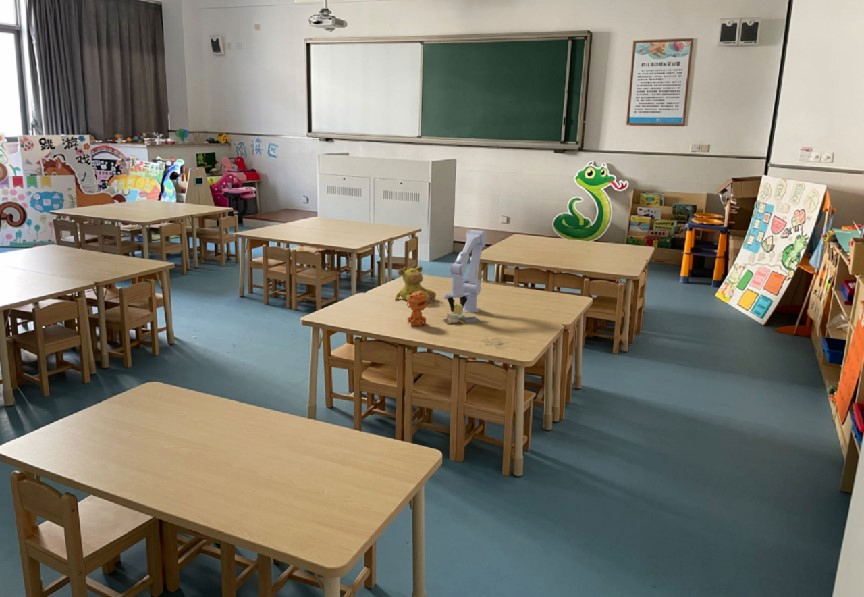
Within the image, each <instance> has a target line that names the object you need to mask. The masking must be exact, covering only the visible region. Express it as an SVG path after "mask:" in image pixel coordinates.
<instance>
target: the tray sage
mask: <svg viewBox="0 0 864 597" xmlns="http://www.w3.org/2000/svg"><path fill="white" fill-rule="evenodd" d="M463 317H466V315H465V316H464V315H463V313H462V314H458V320H462V318H463Z"/></svg>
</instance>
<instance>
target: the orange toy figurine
mask: <svg viewBox="0 0 864 597" xmlns="http://www.w3.org/2000/svg"><path fill="white" fill-rule="evenodd" d="M421 291H422V290H421ZM421 291H418V292H414V293H412V295H410V296H409V297H408V299H407V300H406V306H407V307H408V309H410V310H411V315H410V316H408V317H407V325H408V324H410V325H411V326H412V325H413V326H412V327H415V326H417V327H421V325H422V326H423V325H426V324H427V317H426V316H423V312H422V311H424V310H425V309H426V308H427V306H428V302H429V301H425V300H426V299H427V296H426V294H424V293H423V292H421ZM408 300H409V301H408ZM429 303H430V302H429Z"/></svg>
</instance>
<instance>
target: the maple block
mask: <svg viewBox="0 0 864 597" xmlns="http://www.w3.org/2000/svg"><path fill="white" fill-rule="evenodd" d="M446 319H447V322H448V323H455V322H458V320H459V319H458V314H457V313H456V312H451V311H449V312H446Z"/></svg>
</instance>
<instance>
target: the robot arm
mask: <svg viewBox="0 0 864 597" xmlns="http://www.w3.org/2000/svg"><path fill="white" fill-rule="evenodd" d="M487 237H488V236H487V233H486V231H485V230H477V229H470V228H469V229H467V231H466V233H465V241H466V242H465V244H464V247H463V248H462V251H460V252H458V255H457V257H456V259H455V262H454V263H452V264H451V265H450V268H449V271H450V276H451V293H445V294H443V299H444V300H447V301H448V304H449V307H450V312H451V311H452V312H454V304H455V299H458V298H459V303H460V304H461V305H462V306H463V308H462V312H464V313H476V312H480V309H478V306H477V305H478V295H479V294H480V293H481V289H482V282H481V280H480V278H478V273H479V268H480V262H481V259H482V258H481V257H482V252H483V248H485V247H486V243H487ZM471 251H472V253H471ZM470 253H471V257H470ZM469 260H470V263H469V269H468V273H467V276H466V277H464V274H465V273H466V270H467V269H466V268H467V263H468V262H469Z"/></svg>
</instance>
